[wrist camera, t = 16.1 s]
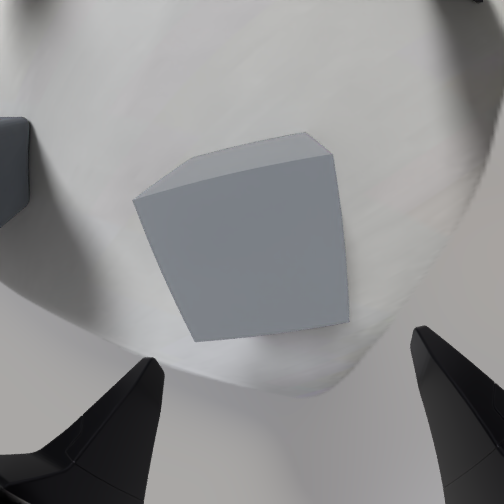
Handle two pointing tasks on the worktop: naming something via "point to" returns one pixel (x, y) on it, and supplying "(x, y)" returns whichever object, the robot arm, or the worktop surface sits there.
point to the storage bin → (13, 166)
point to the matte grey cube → (251, 239)
